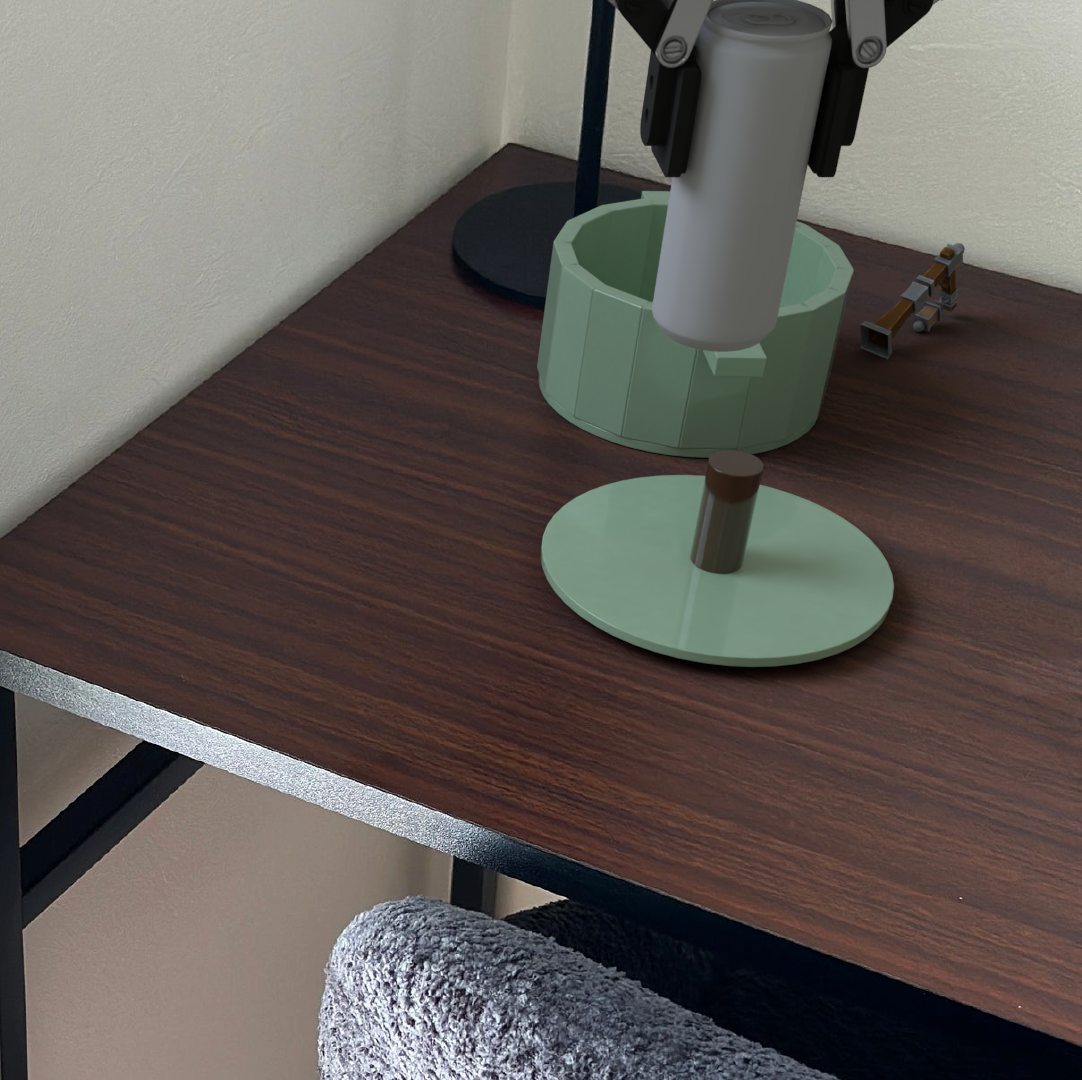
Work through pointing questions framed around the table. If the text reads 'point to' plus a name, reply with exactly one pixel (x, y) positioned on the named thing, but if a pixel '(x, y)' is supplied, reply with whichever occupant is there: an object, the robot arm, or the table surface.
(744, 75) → the beverage can
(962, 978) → the table surface
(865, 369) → the table surface
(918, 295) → the toy blunderbuss gun
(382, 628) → the table surface
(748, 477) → the lid
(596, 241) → the pot
